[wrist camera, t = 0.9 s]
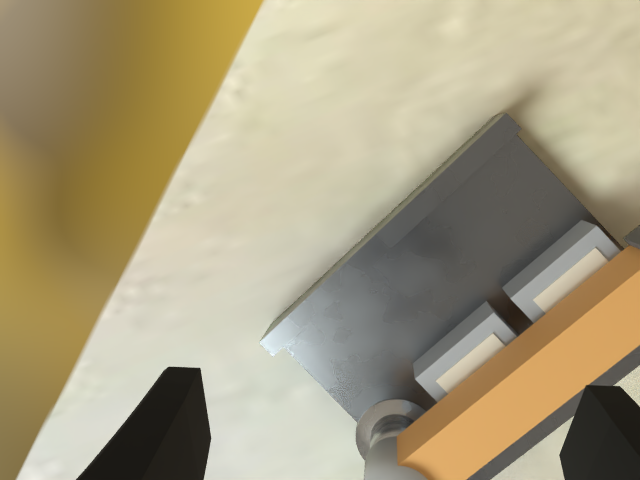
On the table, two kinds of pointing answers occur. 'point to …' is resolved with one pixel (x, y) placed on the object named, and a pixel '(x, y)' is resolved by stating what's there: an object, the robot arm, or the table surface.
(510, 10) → the table surface
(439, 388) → the block
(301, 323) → the tray
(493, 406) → the swing bar
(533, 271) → the module
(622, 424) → the robot arm
